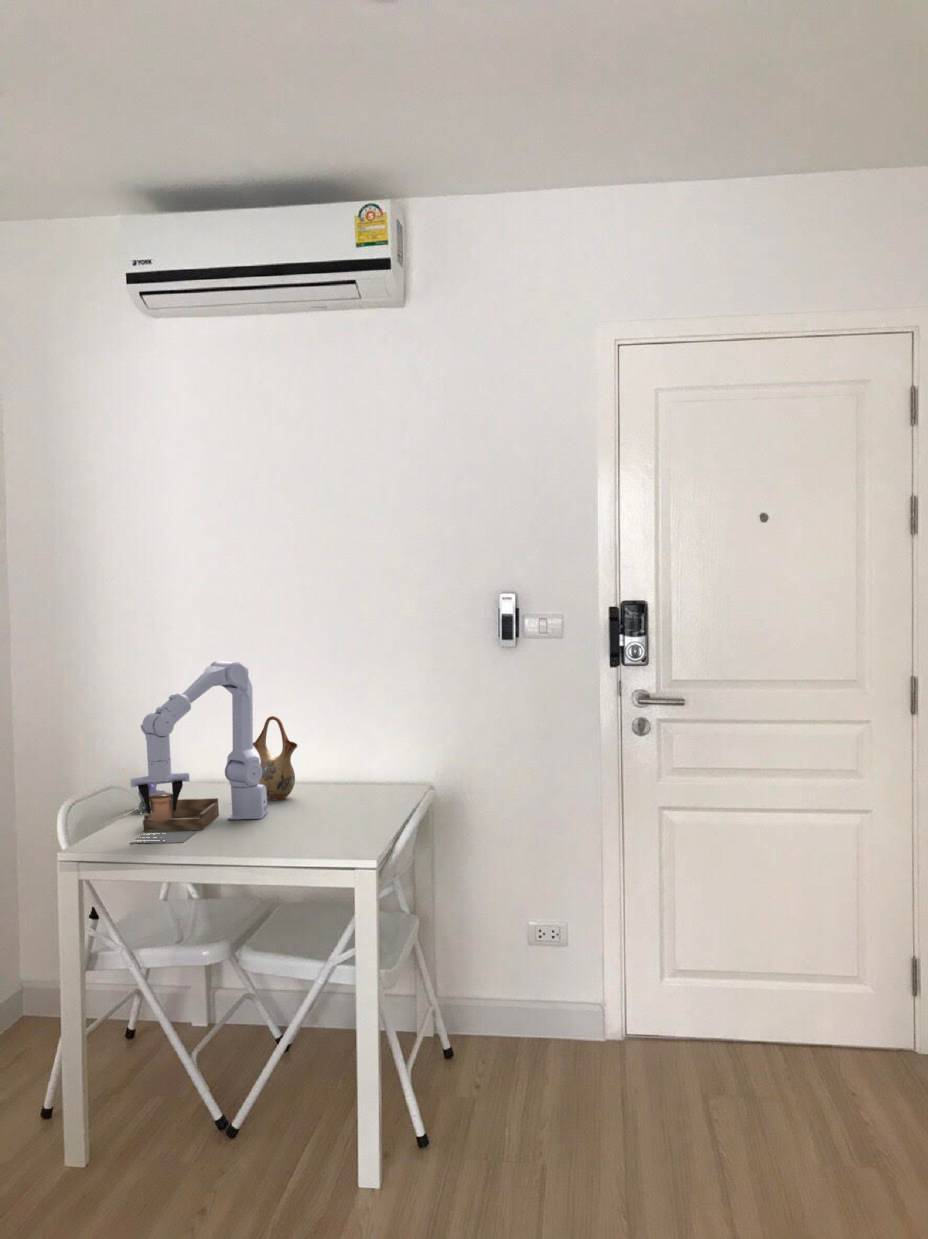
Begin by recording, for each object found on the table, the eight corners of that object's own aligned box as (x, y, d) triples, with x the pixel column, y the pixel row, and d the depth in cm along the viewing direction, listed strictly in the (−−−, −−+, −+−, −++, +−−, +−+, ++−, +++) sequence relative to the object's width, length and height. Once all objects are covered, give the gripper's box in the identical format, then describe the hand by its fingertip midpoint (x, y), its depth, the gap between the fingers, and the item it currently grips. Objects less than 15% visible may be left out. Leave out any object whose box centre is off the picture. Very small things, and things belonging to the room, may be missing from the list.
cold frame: (218, 815, 284) (218, 798, 283) (202, 829, 269) (201, 811, 269) (163, 817, 285) (162, 799, 284) (143, 831, 270) (142, 812, 269)
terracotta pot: (172, 813, 266) (172, 791, 265) (173, 820, 260) (172, 797, 260) (149, 815, 264) (149, 793, 263) (150, 822, 259) (149, 799, 258)
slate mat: (195, 832, 266) (195, 831, 266) (183, 842, 256) (183, 842, 256) (143, 833, 267) (143, 832, 267) (129, 844, 257) (129, 843, 257)
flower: (149, 793, 286) (157, 772, 294) (124, 805, 287) (133, 783, 296) (168, 815, 290) (176, 793, 298) (144, 827, 291) (152, 805, 300)
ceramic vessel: (308, 797, 303) (304, 714, 301) (289, 804, 295) (285, 719, 293) (265, 793, 310) (261, 712, 309) (246, 799, 303) (241, 717, 301)
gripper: (186, 754, 267) (189, 805, 268) (129, 759, 262) (131, 811, 263) (189, 758, 260) (191, 810, 261) (129, 764, 255) (132, 817, 256)
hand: (161, 811), depth 261 cm, fingers closed on terracotta pot, 6 cm apart
